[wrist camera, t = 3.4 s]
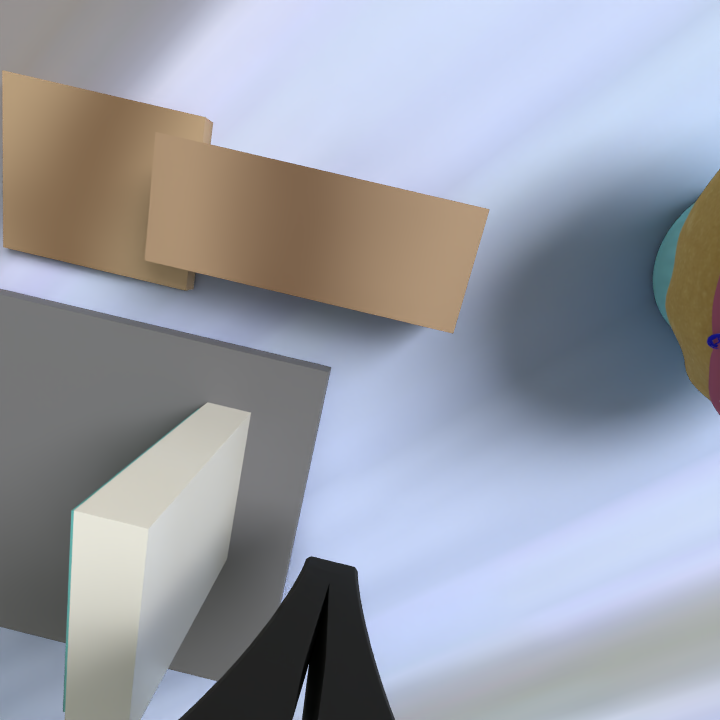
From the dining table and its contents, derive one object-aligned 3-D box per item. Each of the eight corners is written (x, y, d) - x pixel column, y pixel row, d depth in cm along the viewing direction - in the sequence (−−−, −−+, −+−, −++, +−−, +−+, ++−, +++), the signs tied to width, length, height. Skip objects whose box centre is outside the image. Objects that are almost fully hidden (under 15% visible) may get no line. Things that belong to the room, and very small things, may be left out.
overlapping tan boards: (476, 184, 12) (503, 163, 9) (431, 345, 14) (442, 370, 11) (20, 78, 12) (-93, 25, 10) (19, 247, 14) (-80, 246, 11)
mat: (265, 677, 17) (260, 692, 17) (-8, 609, 18) (-21, 621, 17) (331, 367, 14) (328, 372, 13) (-14, 285, 14) (-32, 287, 13)
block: (226, 559, 15) (126, 745, 10) (182, 548, 15) (56, 726, 10) (251, 412, 14) (148, 528, 8) (201, 400, 14) (63, 508, 8)
